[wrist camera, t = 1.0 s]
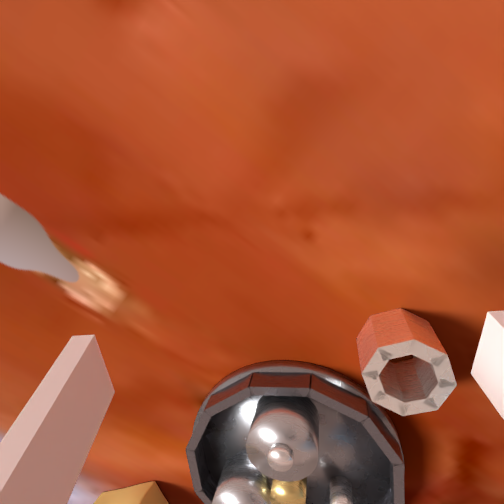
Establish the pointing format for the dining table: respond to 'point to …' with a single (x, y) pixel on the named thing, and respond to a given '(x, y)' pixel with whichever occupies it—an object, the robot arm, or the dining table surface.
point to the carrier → (294, 440)
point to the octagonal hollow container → (404, 363)
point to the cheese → (134, 495)
